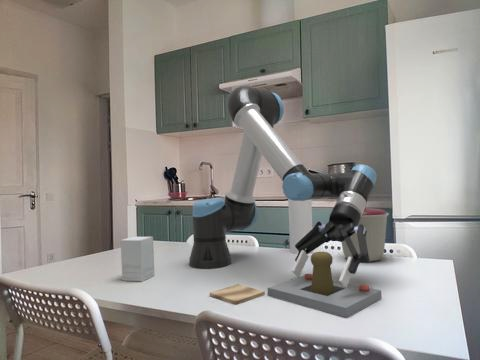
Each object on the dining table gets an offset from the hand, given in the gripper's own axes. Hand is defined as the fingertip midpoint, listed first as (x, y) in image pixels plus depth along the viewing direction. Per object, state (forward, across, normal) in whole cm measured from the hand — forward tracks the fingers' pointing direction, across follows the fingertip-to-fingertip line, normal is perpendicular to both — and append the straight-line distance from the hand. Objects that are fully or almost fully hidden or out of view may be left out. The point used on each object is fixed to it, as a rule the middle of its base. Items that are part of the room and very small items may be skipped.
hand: (317, 278), depth 84 cm
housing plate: (+2, 0, +5) cm, 5 cm away
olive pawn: (+2, 0, +5) cm, 6 cm away
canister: (-30, -13, +37) cm, 49 cm away
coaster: (+11, -17, -4) cm, 21 cm away
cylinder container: (-28, -39, +36) cm, 60 cm away
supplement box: (+18, -53, -10) cm, 57 cm away
